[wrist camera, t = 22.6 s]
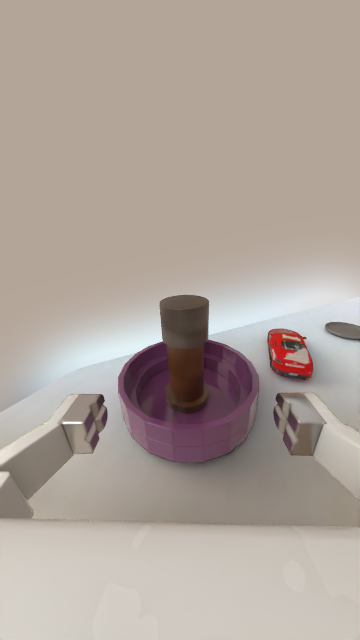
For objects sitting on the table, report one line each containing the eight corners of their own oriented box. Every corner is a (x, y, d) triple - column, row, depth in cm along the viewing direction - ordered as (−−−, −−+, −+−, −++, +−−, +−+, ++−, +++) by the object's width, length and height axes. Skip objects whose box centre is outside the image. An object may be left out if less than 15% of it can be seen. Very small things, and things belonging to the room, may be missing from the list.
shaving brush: (206, 381, 25) (207, 293, 21) (211, 413, 20) (214, 309, 16) (167, 381, 26) (160, 295, 21) (163, 413, 21) (153, 310, 16)
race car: (266, 336, 38) (268, 318, 36) (297, 340, 36) (301, 321, 34) (268, 377, 26) (272, 352, 25) (314, 386, 24) (321, 360, 23)
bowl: (235, 362, 30) (237, 337, 28) (279, 467, 16) (288, 430, 14) (141, 363, 31) (137, 339, 29) (102, 466, 17) (91, 429, 15)
